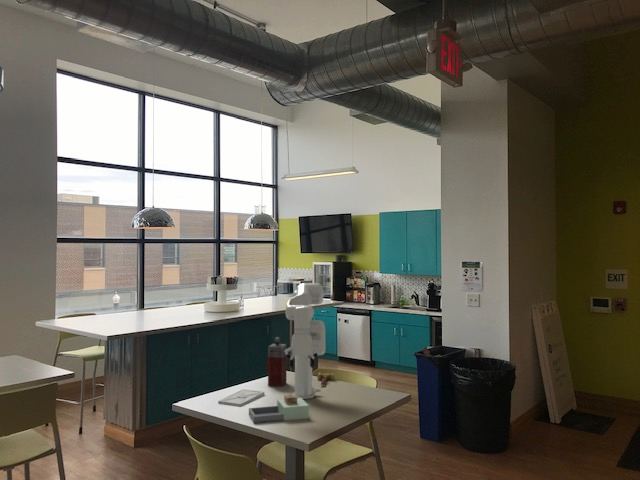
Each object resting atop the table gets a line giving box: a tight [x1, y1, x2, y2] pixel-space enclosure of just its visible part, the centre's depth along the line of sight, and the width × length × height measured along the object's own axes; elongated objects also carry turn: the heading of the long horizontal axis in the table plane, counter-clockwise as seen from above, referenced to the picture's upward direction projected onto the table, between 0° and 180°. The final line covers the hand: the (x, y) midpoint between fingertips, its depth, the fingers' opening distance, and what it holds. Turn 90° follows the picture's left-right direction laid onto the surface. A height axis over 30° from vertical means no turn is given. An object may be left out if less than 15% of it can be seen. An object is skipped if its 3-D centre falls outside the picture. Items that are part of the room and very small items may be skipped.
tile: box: [283, 394, 297, 404], centre depth 249 cm, size 5×5×3 cm
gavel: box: [317, 372, 335, 388], centre depth 312 cm, size 21×5×10 cm
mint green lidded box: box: [276, 398, 310, 422], centre depth 249 cm, size 12×14×6 cm
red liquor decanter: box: [265, 336, 288, 388], centre depth 309 cm, size 9×11×28 cm
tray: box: [248, 405, 285, 424], centre depth 245 cm, size 14×14×3 cm
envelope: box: [217, 388, 265, 407], centre depth 277 cm, size 24×2×14 cm
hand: (301, 367), depth 253 cm, fingers open, 9 cm apart
